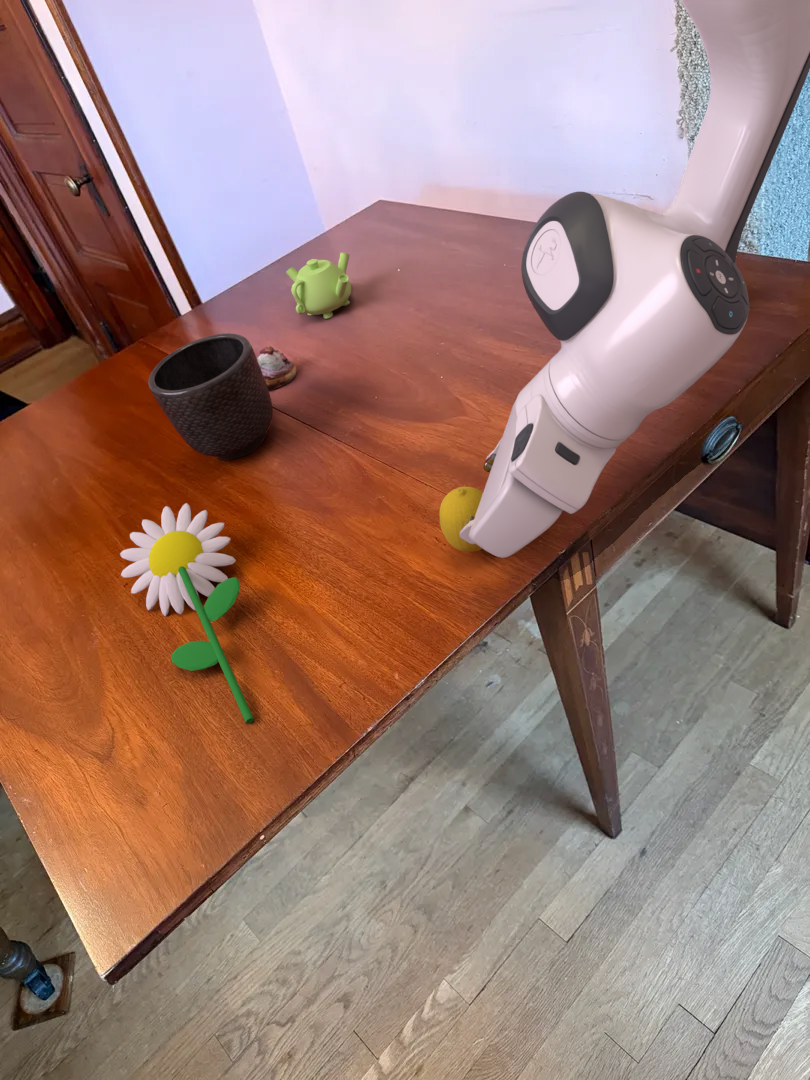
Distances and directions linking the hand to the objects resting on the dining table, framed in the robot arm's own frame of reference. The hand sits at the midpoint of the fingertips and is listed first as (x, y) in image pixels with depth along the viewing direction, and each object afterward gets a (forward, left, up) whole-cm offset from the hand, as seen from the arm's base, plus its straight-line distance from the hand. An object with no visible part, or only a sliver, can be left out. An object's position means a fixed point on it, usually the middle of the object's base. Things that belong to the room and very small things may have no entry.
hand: (479, 500), depth 72 cm
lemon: (+1, +1, -6) cm, 7 cm away
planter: (+43, +10, -6) cm, 45 cm away
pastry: (+54, -1, -6) cm, 54 cm away
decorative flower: (+14, +27, -6) cm, 31 cm away
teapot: (+66, -19, -6) cm, 69 cm away
